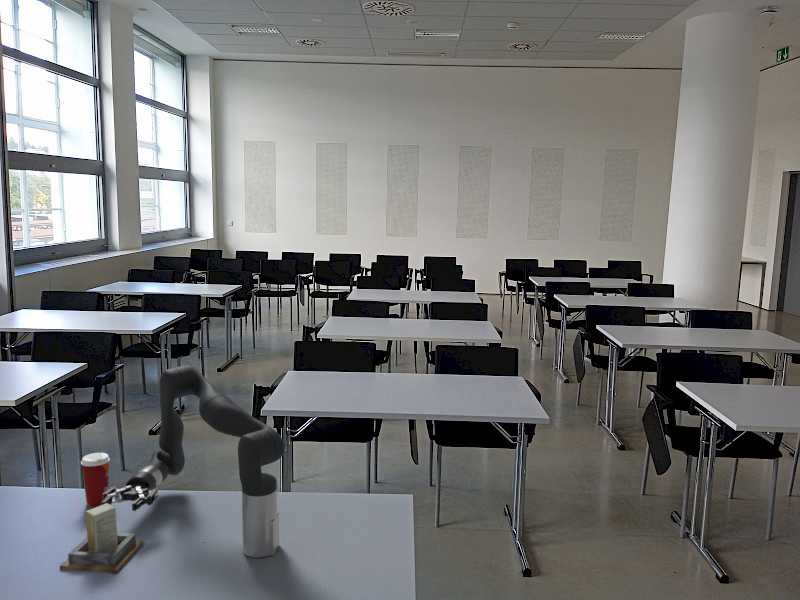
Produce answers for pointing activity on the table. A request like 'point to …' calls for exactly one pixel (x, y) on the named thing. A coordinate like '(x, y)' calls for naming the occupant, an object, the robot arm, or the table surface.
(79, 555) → the socket stand
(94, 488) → the coffee cup
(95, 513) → the skincare box
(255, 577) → the table surface
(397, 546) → the table surface
